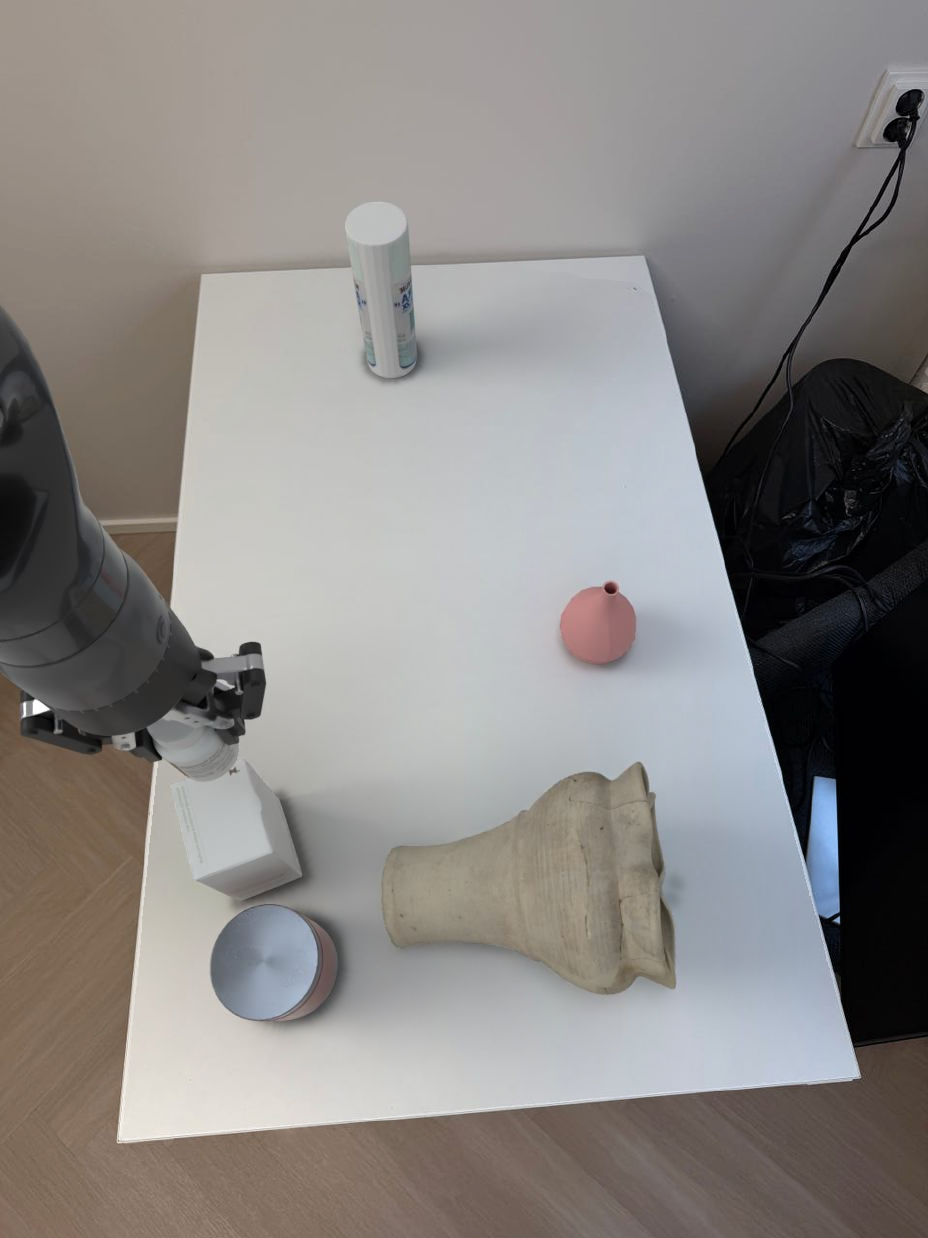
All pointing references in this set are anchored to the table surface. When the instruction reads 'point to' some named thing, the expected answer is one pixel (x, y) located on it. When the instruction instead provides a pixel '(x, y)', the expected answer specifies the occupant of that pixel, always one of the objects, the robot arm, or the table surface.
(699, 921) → the table surface
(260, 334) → the table surface
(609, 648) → the pink bud vase
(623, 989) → the vase
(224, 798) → the cosmetic box
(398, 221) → the spray can
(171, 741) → the pill bottle
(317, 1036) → the table surface
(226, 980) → the tin can
